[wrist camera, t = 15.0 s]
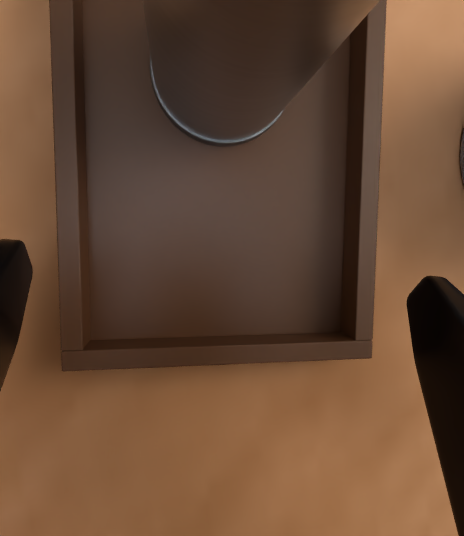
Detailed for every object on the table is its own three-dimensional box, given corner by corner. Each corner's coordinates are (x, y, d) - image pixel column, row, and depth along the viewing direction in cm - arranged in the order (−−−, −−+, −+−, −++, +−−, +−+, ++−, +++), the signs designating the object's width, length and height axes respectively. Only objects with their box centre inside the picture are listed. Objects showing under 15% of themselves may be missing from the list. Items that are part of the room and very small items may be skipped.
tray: (351, 345, 19) (372, 358, 17) (74, 355, 17) (61, 371, 15) (364, -26, 17) (389, -59, 15) (62, -59, 15) (45, -101, 13)
